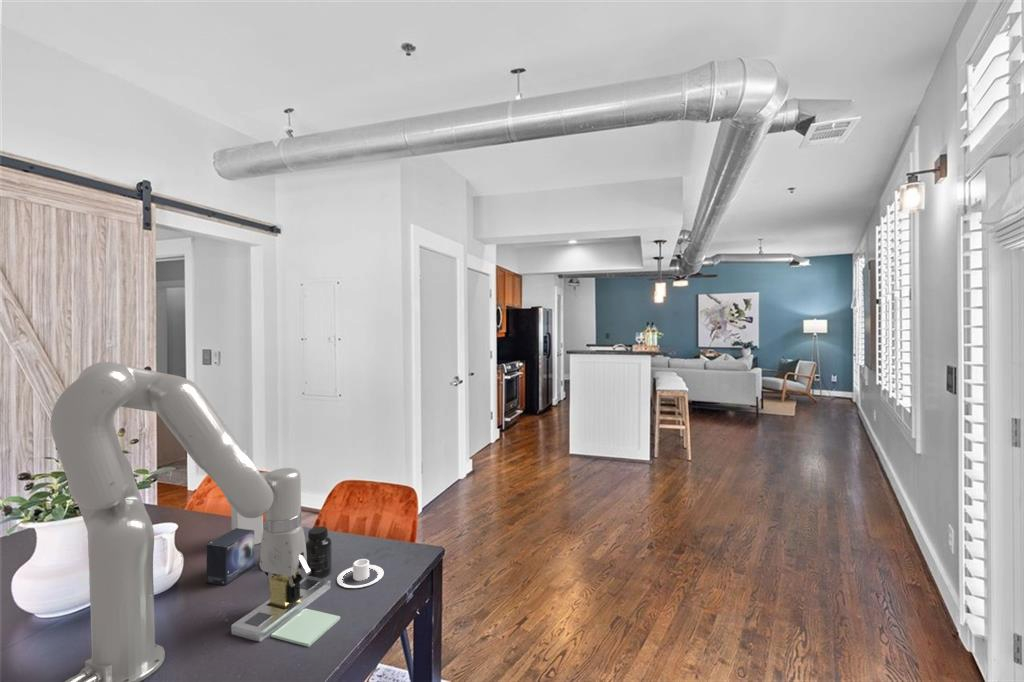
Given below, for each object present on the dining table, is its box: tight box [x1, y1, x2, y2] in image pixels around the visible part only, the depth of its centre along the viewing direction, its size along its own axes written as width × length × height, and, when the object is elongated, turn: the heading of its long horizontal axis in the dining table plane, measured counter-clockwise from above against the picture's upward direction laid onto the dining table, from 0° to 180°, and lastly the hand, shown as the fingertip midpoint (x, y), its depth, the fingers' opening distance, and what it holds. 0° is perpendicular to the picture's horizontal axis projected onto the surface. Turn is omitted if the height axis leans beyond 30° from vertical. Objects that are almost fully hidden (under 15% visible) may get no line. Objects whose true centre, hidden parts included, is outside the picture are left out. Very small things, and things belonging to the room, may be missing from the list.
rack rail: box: [230, 576, 331, 642], centre depth 113 cm, size 22×8×2 cm, turn 161°
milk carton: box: [230, 505, 264, 546], centre depth 147 cm, size 7×7×19 cm
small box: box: [206, 528, 255, 586], centre depth 128 cm, size 11×6×10 cm, turn 168°
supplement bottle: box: [305, 526, 333, 579], centre depth 129 cm, size 7×7×12 cm
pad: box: [270, 607, 341, 648], centre depth 106 cm, size 10×10×1 cm
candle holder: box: [336, 558, 385, 589], centre depth 127 cm, size 12×12×4 cm
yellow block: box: [269, 574, 300, 610], centre depth 113 cm, size 4×4×8 cm
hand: (285, 597), depth 113 cm, fingers closed on yellow block, 4 cm apart
